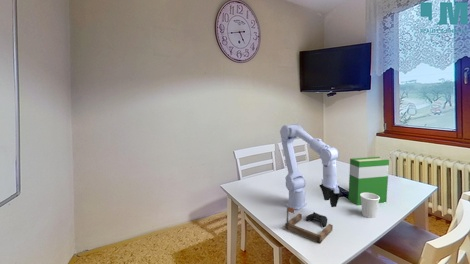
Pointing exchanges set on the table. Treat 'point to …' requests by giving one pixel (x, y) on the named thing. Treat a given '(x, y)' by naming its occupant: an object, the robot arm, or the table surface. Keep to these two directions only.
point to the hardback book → (368, 178)
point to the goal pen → (305, 233)
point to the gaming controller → (318, 217)
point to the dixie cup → (369, 204)
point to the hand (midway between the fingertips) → (330, 203)
